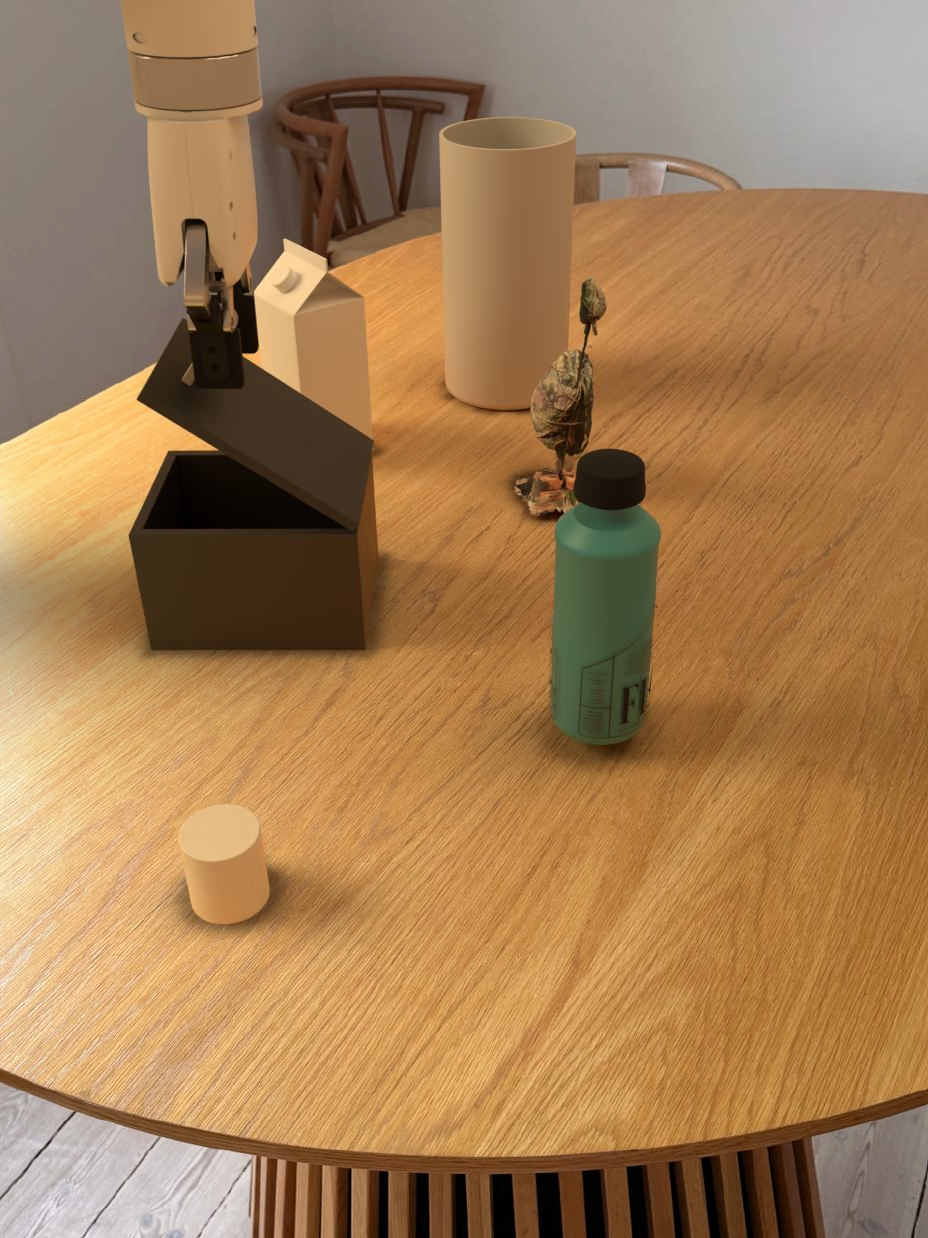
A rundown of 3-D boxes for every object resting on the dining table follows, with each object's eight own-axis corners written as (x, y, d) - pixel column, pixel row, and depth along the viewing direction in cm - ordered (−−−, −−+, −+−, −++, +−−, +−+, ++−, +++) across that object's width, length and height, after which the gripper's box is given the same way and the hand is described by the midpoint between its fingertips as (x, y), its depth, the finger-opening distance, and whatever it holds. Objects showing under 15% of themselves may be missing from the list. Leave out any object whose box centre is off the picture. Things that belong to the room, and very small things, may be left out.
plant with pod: (610, 466, 111) (623, 247, 99) (600, 528, 102) (613, 295, 90) (522, 460, 112) (525, 243, 100) (504, 521, 103) (505, 290, 91)
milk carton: (334, 426, 118) (319, 230, 107) (374, 453, 113) (362, 250, 103) (270, 446, 115) (247, 246, 104) (308, 475, 110) (288, 268, 99)
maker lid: (135, 399, 77) (174, 336, 74) (177, 325, 87) (213, 268, 85) (353, 532, 82) (396, 477, 80) (368, 447, 92) (407, 396, 90)
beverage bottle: (623, 777, 76) (645, 498, 65) (528, 745, 79) (534, 471, 68) (661, 719, 81) (689, 449, 70) (571, 690, 84) (583, 425, 72)
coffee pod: (175, 898, 69) (161, 834, 66) (236, 855, 71) (225, 792, 68) (224, 938, 66) (212, 874, 63) (285, 892, 69) (276, 829, 66)
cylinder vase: (458, 418, 119) (453, 153, 105) (435, 369, 129) (428, 121, 115) (581, 406, 121) (592, 144, 107) (549, 358, 131) (556, 113, 117)
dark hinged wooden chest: (151, 651, 88) (128, 534, 82) (186, 559, 98) (168, 450, 93) (365, 651, 88) (357, 534, 82) (378, 558, 98) (371, 449, 92)
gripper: (165, 52, 79) (198, 321, 89) (95, 112, 65) (144, 423, 75) (280, 54, 79) (299, 323, 89) (235, 114, 65) (264, 425, 75)
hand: (228, 366), depth 82 cm, fingers closed on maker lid, 5 cm apart
